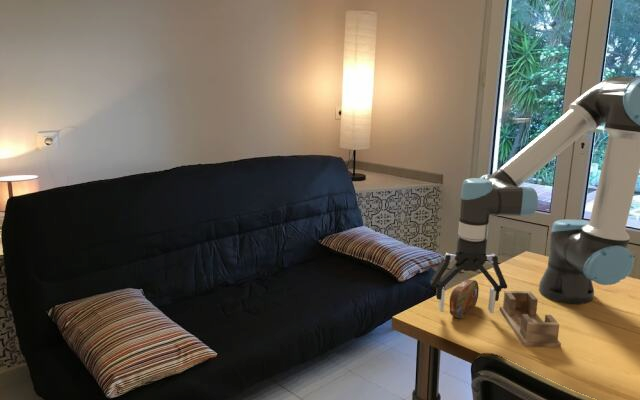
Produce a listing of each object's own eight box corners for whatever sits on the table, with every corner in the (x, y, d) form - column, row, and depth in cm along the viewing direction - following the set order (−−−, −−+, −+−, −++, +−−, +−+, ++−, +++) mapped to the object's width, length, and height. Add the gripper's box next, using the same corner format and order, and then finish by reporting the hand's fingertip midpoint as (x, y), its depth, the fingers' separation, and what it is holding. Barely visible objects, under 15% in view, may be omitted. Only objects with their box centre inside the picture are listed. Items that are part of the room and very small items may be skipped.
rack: (531, 310, 147) (533, 291, 146) (560, 347, 128) (563, 325, 126) (499, 310, 148) (501, 290, 146) (523, 346, 128) (526, 324, 127)
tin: (457, 323, 140) (459, 294, 138) (446, 319, 142) (448, 291, 140) (478, 303, 152) (480, 277, 150) (468, 301, 154) (470, 274, 152)
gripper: (515, 233, 141) (507, 305, 146) (422, 231, 141) (418, 303, 147) (524, 242, 133) (516, 318, 139) (427, 240, 134) (422, 315, 139)
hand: (465, 310), depth 143 cm, fingers open, 13 cm apart
